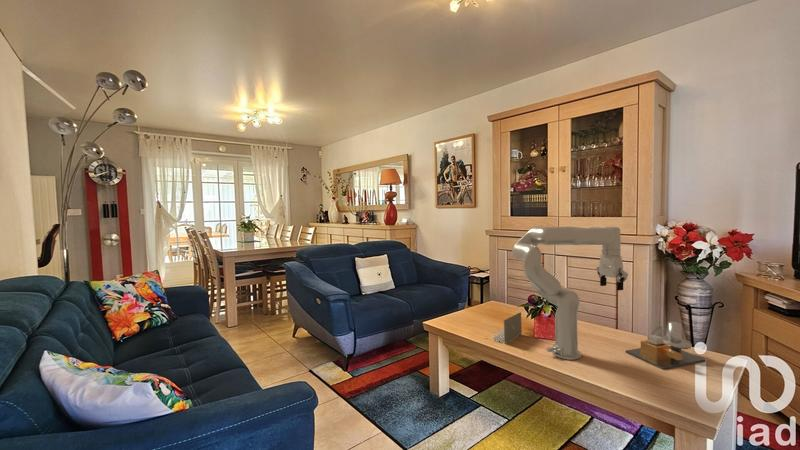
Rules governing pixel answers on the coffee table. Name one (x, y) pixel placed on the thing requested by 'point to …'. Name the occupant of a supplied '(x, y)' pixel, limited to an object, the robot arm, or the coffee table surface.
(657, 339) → the grey block
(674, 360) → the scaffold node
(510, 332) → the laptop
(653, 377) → the coffee table surface
